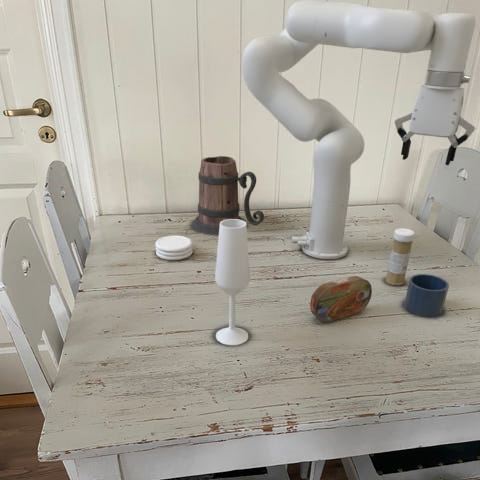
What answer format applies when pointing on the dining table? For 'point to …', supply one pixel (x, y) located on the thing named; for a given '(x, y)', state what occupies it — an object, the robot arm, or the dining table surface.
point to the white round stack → (174, 247)
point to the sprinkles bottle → (399, 256)
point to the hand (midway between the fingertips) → (426, 161)
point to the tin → (340, 298)
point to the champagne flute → (232, 273)
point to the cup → (426, 295)
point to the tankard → (222, 194)
